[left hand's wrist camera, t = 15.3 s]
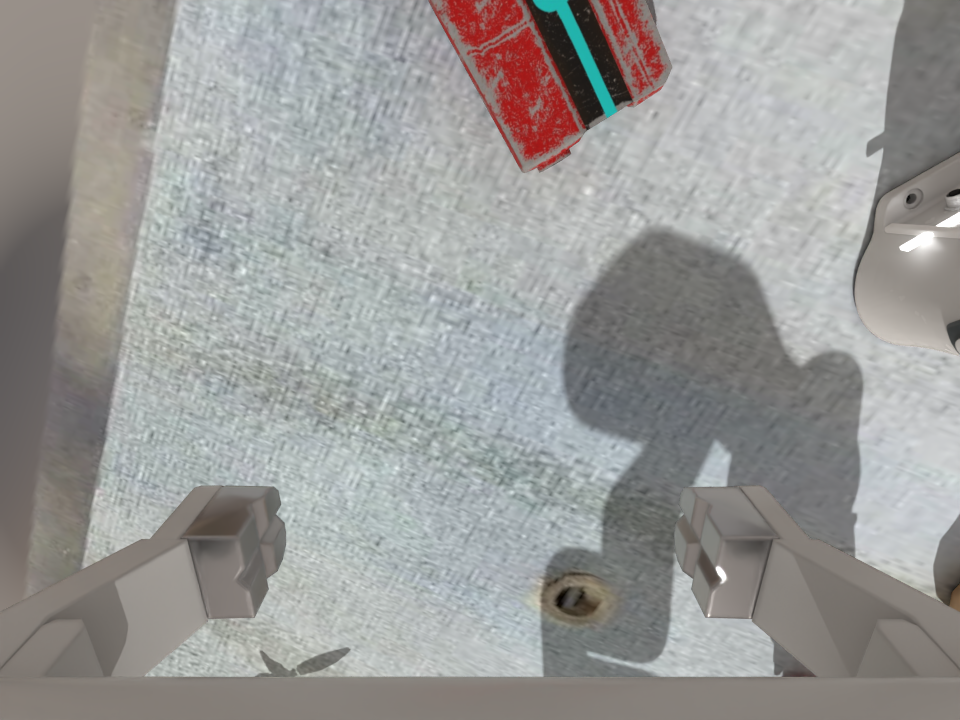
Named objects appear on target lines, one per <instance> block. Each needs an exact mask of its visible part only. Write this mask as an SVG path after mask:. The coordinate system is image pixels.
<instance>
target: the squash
mask: <svg viewBox="0 0 960 720" xmlns="http://www.w3.org/2000/svg"><path fill="white" fill-rule="evenodd" d="M949 607H951V608H953V609H955V610H957V611H959V612H960V584H959V585H958V586H957V587H956V588H955V590H954V591H953V592H952V594H951V599H950V605H949Z"/></svg>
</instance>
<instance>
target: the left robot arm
mask: <svg viewBox="0 0 960 720" xmlns="http://www.w3.org/2000/svg"><path fill="white" fill-rule="evenodd" d="M908 195H910V199H909V201H908V202H906V198H907V197H908ZM854 292H855V303H856V308H857V311H858V314H859V316H860V318H861V320H862V322H863V323H864V325H865V326H866V327H867V329H868V330H869V331H870V332H871V333H873V334H874V335H875V336H876V337H878V338H880V339H881V340H883V341H886V342H888V343H891V344H895V345H900V346H910V347H921V348H927V349H933V350H937V351H942V352H945V353H949V354H953V355H957V356H960V152H959V153H957V154H955V155H954V156H952V157H950V158H948V159H946V160H945V161H943V162H941V163H939V164H938V165H936V166H934V167H932V168H930V169H929V170H927V171H925V172H923V173H922V174H920V175H918V176H916V177H915V178H913V179H911V180H909V181H907V182H906V183H904V184H902V185H900V186H899V187H897V188H895V189H893V190H891V191H890V192H888V193H887V194H885V195H884V196H883V197H882V198H881V199H880V201H879V203H878V205H877V208H876V213H875V221H874V233H873V236H872V239H871V241H870V243H869V245H868V247H867V249H866V251H865V253H864V255H863V257H862V260H861V262H860V265H859V268H858V271H857V275H856V280H855V291H854ZM280 506H281V501H280V496H279V491H278V490H277V489H276V488H275V487H269V486H198V487H195V488H194V489H193V490H192V491H191V492H190V493H189V495H188V496H187V497H186V498H185V499H184V500H183V501H182V503H181V504H180V505H179V506H178V507H177V508H176V509H175V511H174V512H173V513H172V514H171V515H170V516H169V518H168V519H167V520H166V521H165V522H164V523H163V524H162V526H161V527H160V528H159V529H158V530H157V531H156V532H155V534H154V535H153V536H152V537H151V538H150V539H141V540H139V541H137V542H135V543H133V544H131V545H129V546H127V547H125V548H123V549H121V550H119V551H117V552H116V553H114V554H112V555H110V556H108V557H106V558H104V559H102V560H100V561H98V562H96V563H94V564H92V565H90V566H88V567H86V568H84V569H82V570H80V571H79V572H77V573H75V574H73V575H71V576H69V577H67V578H65V579H63V580H61V581H59V582H57V583H55V584H53V585H51V586H49V587H47V588H45V589H43V590H42V591H40V592H38V593H36V594H34V595H32V596H30V597H28V598H26V599H24V600H22V601H20V602H18V603H16V604H14V605H12V606H10V607H8V608H6V609H5V610H3V611H1V612H0V720H960V612H959V611H957V610H955V609H953V608H951V607H949V606H947V605H945V604H943V603H942V602H940V601H938V600H936V599H934V598H932V597H930V596H928V595H926V594H924V593H922V592H920V591H918V590H916V589H914V588H912V587H910V586H908V585H907V584H905V583H903V582H901V581H899V580H897V579H895V578H893V577H891V576H889V575H887V574H885V573H883V572H881V571H879V570H877V569H875V568H874V567H872V566H870V565H868V564H866V563H864V562H862V561H860V560H858V559H856V558H854V557H852V556H850V555H848V554H846V553H844V552H842V551H840V550H839V549H837V548H835V547H833V546H831V545H829V544H827V543H825V542H823V541H821V540H819V539H810V538H809V537H808V536H807V535H806V534H805V532H804V531H803V530H802V529H801V528H800V527H799V526H798V524H797V523H796V522H795V521H794V520H793V519H792V518H791V516H790V515H789V514H788V513H787V512H786V511H785V510H784V508H783V507H782V506H781V505H780V504H779V503H778V501H777V500H776V499H775V498H774V497H773V496H772V495H771V493H770V492H769V491H768V490H767V489H766V488H765V487H762V486H760V485H749V486H734V487H684V488H683V490H682V492H681V495H680V500H679V506H680V508H681V509H682V511H683V513H684V515H683V516H682V517H681V518H680V519H679V520H678V521H677V522H676V523H675V531H674V546H675V553H676V556H677V560H678V562H679V565H680V567H681V569H682V571H683V572H684V573H686V574H687V575H689V576H690V577H691V578H693V583H692V588H691V590H692V592H693V594H694V596H695V598H696V600H697V602H698V604H699V606H700V608H701V610H702V612H703V614H704V616H705V618H738V619H752V622H753V623H755V624H756V625H757V626H758V627H759V628H760V629H762V630H763V631H764V632H765V633H766V634H767V635H769V636H770V637H771V638H772V639H773V640H775V641H776V642H777V643H778V644H779V645H780V646H782V647H783V648H784V649H785V650H786V651H787V652H789V653H790V654H791V655H792V656H793V657H794V658H796V659H797V660H798V661H799V662H800V663H801V664H803V665H804V666H805V667H806V668H807V669H808V670H810V671H811V672H812V673H813V674H814V675H815V676H817V677H143V676H145V675H146V674H147V673H148V672H149V671H151V670H152V669H153V668H154V667H155V666H156V665H158V664H159V663H160V662H161V661H162V660H163V659H165V658H166V657H167V656H168V655H169V654H170V653H172V652H173V651H174V650H175V649H176V648H177V647H179V646H180V645H181V644H182V643H183V642H185V641H186V640H187V639H188V638H189V637H190V636H192V635H193V634H194V633H195V632H196V631H197V630H199V629H200V628H201V627H202V626H203V625H204V624H206V623H207V622H208V619H222V618H255V616H256V614H257V612H258V610H259V608H260V606H261V604H262V602H263V600H264V598H265V596H266V594H267V592H268V590H269V588H268V583H267V578H269V577H270V576H271V575H273V574H274V573H276V572H277V571H278V569H279V567H280V565H281V562H282V560H283V556H284V552H285V547H286V529H285V523H284V522H283V521H282V520H281V519H280V518H279V517H278V516H277V515H276V513H277V511H278V509H279V508H280Z"/></svg>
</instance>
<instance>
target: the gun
mask: <svg viewBox="0 0 960 720" xmlns="http://www.w3.org/2000/svg"><path fill="white" fill-rule="evenodd" d="M428 1H429V3H430V5H431V7H432V9H433V10H434V12H435V14H436V16H437V18H438V20H439V21H440V23H441V25H442V27H443V29H444V31H445V32H446V34H447V36H448V38H449V40H450V42H451V43H452V45H453V47H454V49H455V51H456V53H457V54H458V56H459V58H460V60H461V62H462V63H463V65H464V67H465V69H466V71H467V73H468V74H469V76H470V78H471V80H472V82H473V84H474V85H475V87H476V89H477V91H478V93H479V95H480V96H481V98H482V100H483V102H484V104H485V105H486V107H487V109H488V111H489V113H490V115H491V116H492V118H493V120H494V122H495V124H496V126H497V127H498V129H499V131H500V133H501V135H502V137H503V138H504V140H505V142H506V144H507V146H508V147H509V149H510V151H511V153H512V155H513V157H514V158H515V160H516V162H517V164H518V166H519V168H520V169H521V171H522V172H523V173H526V172H529V171H531V170H533V169H535V168H538V170H539V172H542V171H544V170H546V169H548V168H550V167H551V166H553V165H555V164H556V163H558V162H560V161H561V160H563V159H564V158H566V157H567V156H569V155H570V154H571V152H570V150H569V148H570V147H572V146H573V145H574V144H576V143H577V142H579V141H580V139H581V137H582V136H583V134H584V133H585V132H586V131H587V130H589V129H590V128H592V127H593V126H595V125H597V124H598V123H600V122H601V121H603V120H605V119H606V118H608V117H609V116H611V115H613V114H614V113H616V112H617V111H619V110H621V109H622V108H624V107H625V106H629V107H635V106H637V105H638V104H640V103H641V102H643V101H644V100H646V99H647V98H649V97H650V96H652V95H653V94H655V93H657V92H658V91H660V90H661V88H662V87H663V85H664V84H665V82H666V80H667V78H668V76H669V73H670V71H671V69H672V65H671V62H670V60H669V57H668V55H667V52H666V50H665V47H664V45H663V42H662V40H661V37H660V35H659V32H658V30H657V27H656V25H655V22H654V20H653V17H652V14H651V12H650V9H649V7H648V4H647V2H646V0H428Z"/></svg>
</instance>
